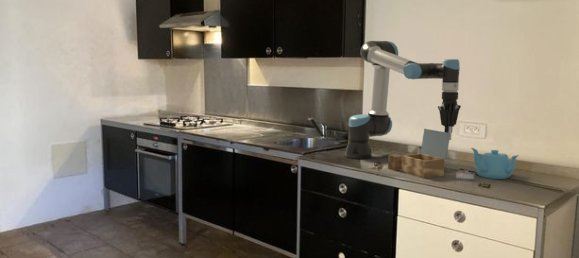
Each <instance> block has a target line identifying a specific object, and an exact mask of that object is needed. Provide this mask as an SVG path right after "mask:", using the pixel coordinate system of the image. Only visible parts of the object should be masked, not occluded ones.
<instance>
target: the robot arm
mask: <svg viewBox="0 0 579 258" xmlns="http://www.w3.org/2000/svg"><path fill="white" fill-rule="evenodd" d="M359 53H360V57H361V58H362V59H363V61H365V62H366V63H370V64H371V66H372V67H373V68H374V70H373V81H372V82H373V85H372V93H371V94H372V96H371V97H372V98H371V109H370V110H369V111H367V114H366V113H365V114H364V113H362V114H355V115H351V116H350V117H349V119H348V143H347V146H346V149H345V151H344V156H345V158H348V159H359V160H360V159H362V160H363V159H370V158H372V157H373V151H372V147H371V145H370V138H371V137H372V138H375V137H383V136H386V135H388V134H389V133H390V132H391V130H392V127H393V120H392V117H390V115H389V114H390V113H389V112H388V111H387V106H388V94H389V86H390V85H389V84H390V83H389V82H390V72H391V70H392V71H394V72H397V73H399V74H402V75H403V76H404V77H405V78H406V79H408V80H420V79H421V80H423V79H424V80H427V79H434V80H435V79H438V80H439V79H440V80H441V79H442V82H441V83H442V84H441V87H442V88H441V90H442V92H441V99H442V103H441V105H438V106H437V109H438V111H439V119H440V124H441V125H442V126H443V127H444V131H443V132H447V133H450V138H449V141H451V140H452V133H453V127H455V126H456V125H457V121H458V117H459V112H460V110H461V107H462V105H460V104H458V102H457V101H458V99H459V92H458V91H459V80H460V79H459V77H460V60H459V59H458V58H455V59H454V58H453V59H452V58H449V59H448V58H447V59H443V60H442V62H441V63H439V62H438V63H436V62H429V63H428V62H427V63H426V62H425V63H424V62H423V63H421V62H417V61H412V60H410V59H407V58H406V57H405V58H404V57H402V56H399V49H398V47H397V45H396V43H394V42H393V41H388V40H369V41H366V42H365V43H363V44H362V46H361V47H360V52H359Z"/></svg>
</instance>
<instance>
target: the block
mask: <svg viewBox="0 0 579 258" xmlns="http://www.w3.org/2000/svg"><path fill="white" fill-rule="evenodd" d="M387 158H388V159H387V160H388V161H387V170H391V171H394V172H395V170H396V171H401V168H402V155H401V154H397V153H394V154H388V156H387Z"/></svg>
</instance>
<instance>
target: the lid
mask: <svg viewBox="0 0 579 258" xmlns="http://www.w3.org/2000/svg"><path fill="white" fill-rule="evenodd" d="M449 138H450V133H447V132H444V131H440V130H435V129H429V128H428V129H427V128H423V135H422V142H421V147H422V148H421V154H425V155H430V156H434V157H438V158H442V159H445V160H447V157H448V153H449V152H448V151H449V146H450V140H449Z"/></svg>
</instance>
